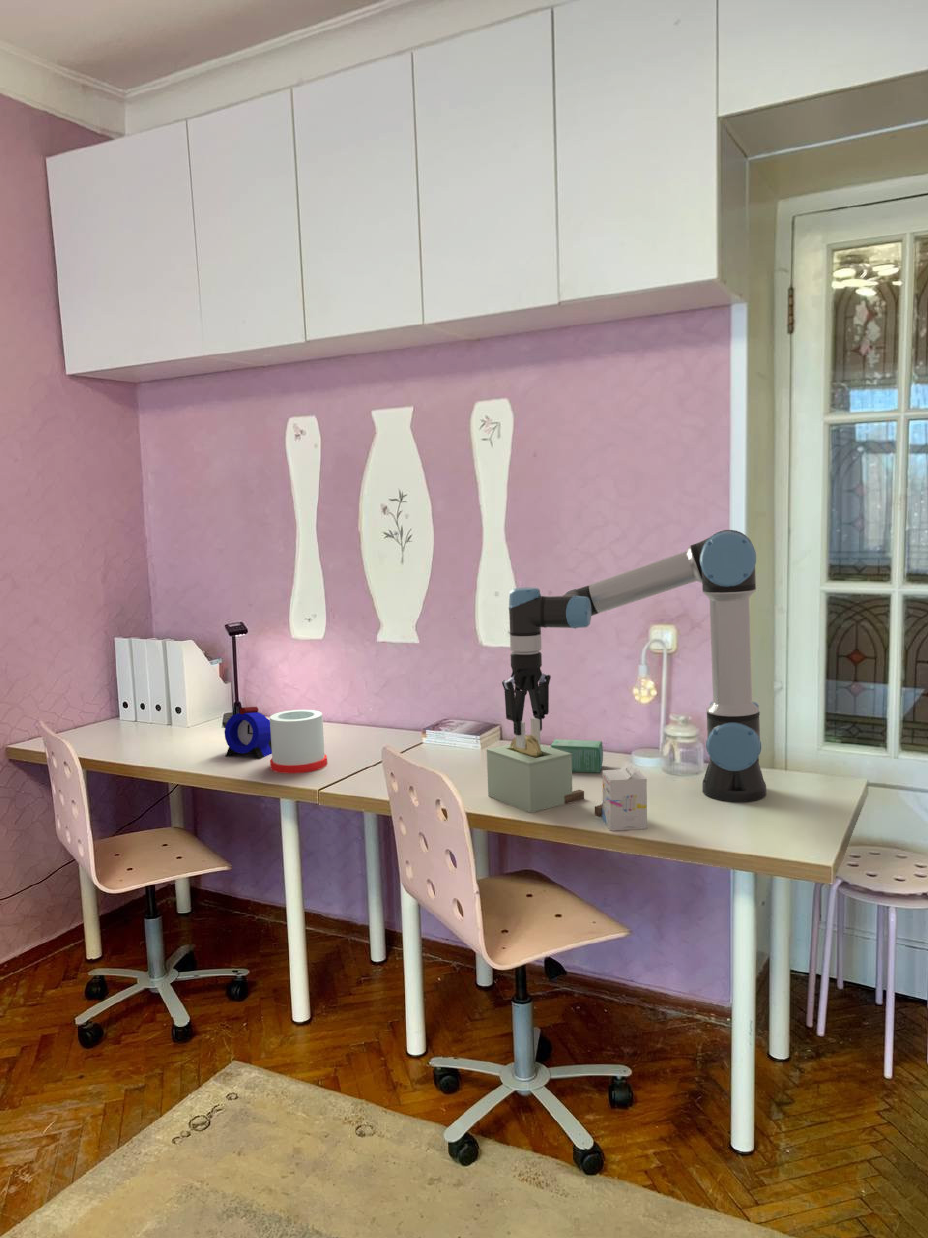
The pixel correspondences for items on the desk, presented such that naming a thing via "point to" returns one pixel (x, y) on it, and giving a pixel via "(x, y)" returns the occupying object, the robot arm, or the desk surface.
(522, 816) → the desk surface
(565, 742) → the box
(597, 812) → the cradle
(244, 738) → the alarm clock
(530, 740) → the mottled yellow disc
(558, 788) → the box
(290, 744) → the container
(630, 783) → the ink box
